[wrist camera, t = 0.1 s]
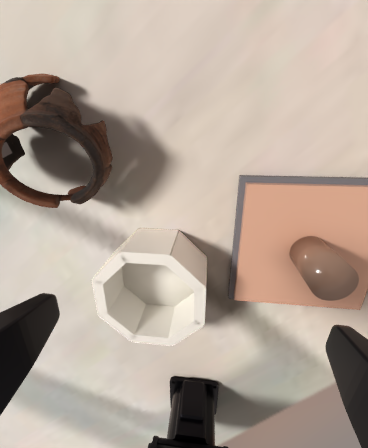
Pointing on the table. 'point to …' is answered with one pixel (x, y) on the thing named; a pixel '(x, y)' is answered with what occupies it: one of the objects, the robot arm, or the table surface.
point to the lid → (304, 245)
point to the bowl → (153, 287)
